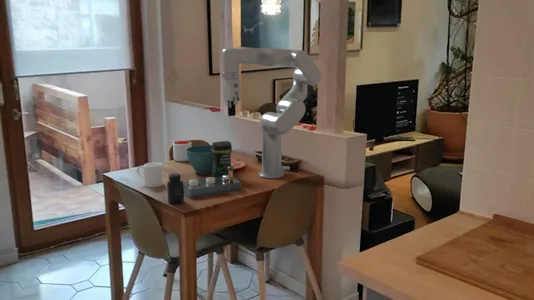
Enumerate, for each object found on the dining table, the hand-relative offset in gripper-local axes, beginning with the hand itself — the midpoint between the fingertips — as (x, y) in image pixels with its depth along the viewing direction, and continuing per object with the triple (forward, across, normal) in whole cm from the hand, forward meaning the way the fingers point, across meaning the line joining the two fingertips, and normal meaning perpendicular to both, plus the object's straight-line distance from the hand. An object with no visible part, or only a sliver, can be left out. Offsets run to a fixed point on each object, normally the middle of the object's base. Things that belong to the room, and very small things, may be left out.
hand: (231, 115), depth 242 cm
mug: (+32, +15, +36) cm, 51 cm away
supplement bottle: (+32, -15, +33) cm, 49 cm away
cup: (+32, +52, +7) cm, 62 cm away
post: (+28, -12, +6) cm, 31 cm away
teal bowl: (+32, +23, +5) cm, 40 cm away
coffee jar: (+32, +8, +2) cm, 33 cm away
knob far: (+32, -7, +22) cm, 39 cm away
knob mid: (+32, -7, +14) cm, 35 cm away
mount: (+32, -7, +14) cm, 36 cm away
